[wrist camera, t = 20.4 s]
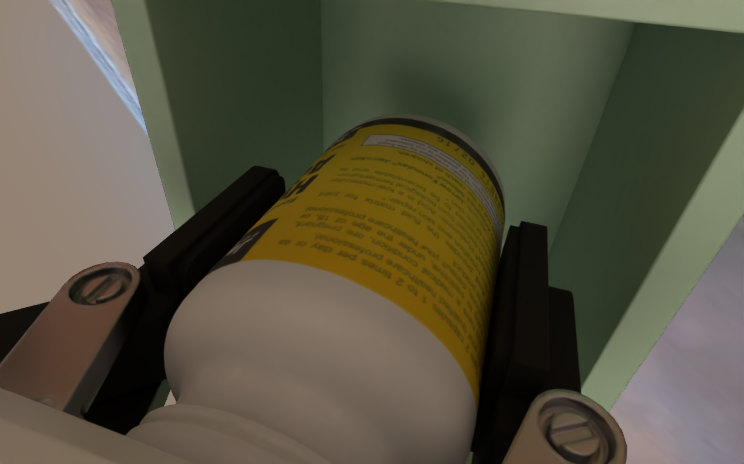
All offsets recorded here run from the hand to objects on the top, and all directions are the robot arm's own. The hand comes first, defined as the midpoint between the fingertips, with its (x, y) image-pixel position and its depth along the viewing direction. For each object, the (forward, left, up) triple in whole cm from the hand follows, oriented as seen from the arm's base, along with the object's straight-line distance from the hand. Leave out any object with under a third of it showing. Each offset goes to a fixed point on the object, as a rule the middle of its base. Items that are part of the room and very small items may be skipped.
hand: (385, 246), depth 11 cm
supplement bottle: (0, 0, -3) cm, 3 cm away
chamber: (+2, 0, -10) cm, 10 cm away
